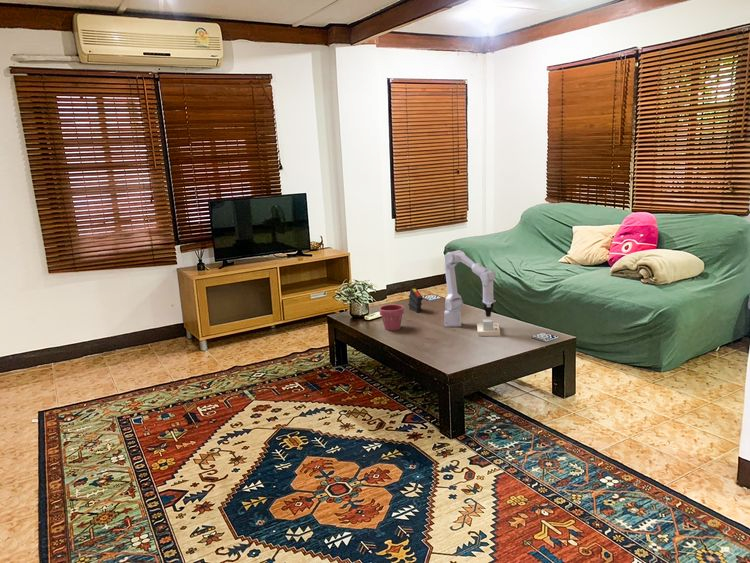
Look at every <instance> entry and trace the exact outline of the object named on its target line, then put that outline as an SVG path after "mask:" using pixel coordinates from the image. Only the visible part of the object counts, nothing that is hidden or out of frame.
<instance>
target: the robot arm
mask: <svg viewBox="0 0 750 563" xmlns="http://www.w3.org/2000/svg"><path fill="white" fill-rule="evenodd" d="M459 263H462V264H463V265H465V266H467V267H468V268H470V269H471V272H472V273H474V274H475V275H477V277H479V278H480V280H481V284H482V306H483V309H484V311H485V312H484V313H485V316H486V318H491V315H492V310H493V308H494V306H495V304H494V303H496V302H497V301H496V299H494V280H495V279H496V273H495V271H493V269H488V268H487V267H485V266H484V265H482V263H479V262H474V261H473V260H472V259H471V258H469V257H468V256H467V255H466V253H465V252H464V251H462V250H461V249H458V250H454V251H448V252H447V253H445V254H444V272H445V281H446V288H447V296H446V297H445V298H444V299H445V300H444V301H445V302H444V307H445V310H444V320H443V321H444V327H447V328H448V327H462V321H461V310H462V307H463V306H464V301H463V299H462V296H461V295H460V294H459V293H458V286H457V278H456V277H457V276H456V271H455V266H457V264H459Z"/></svg>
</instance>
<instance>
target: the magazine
mask: <svg viewBox="0 0 750 563" xmlns="http://www.w3.org/2000/svg"><path fill="white" fill-rule="evenodd" d="M408 298H409V300H408V306H409V310H411V311H413V312H415V313H422V311H423V309H422V305H423V303H422V301H423V300H424V298H423V295H422V294H421V293H420V291H419V290H418V289H417V287H415V286H414V287H410V288H409V295H408Z"/></svg>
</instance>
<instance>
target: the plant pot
mask: <svg viewBox="0 0 750 563" xmlns="http://www.w3.org/2000/svg"><path fill="white" fill-rule="evenodd" d="M404 311H405V309H404V306H403V305H402V304H385V305H382V306H380V307H379V315H380V316H381V318H382V319H381V320H382V323H383V327H384V329H385V330H387V331H397V330H400V329H401V326H402V325H401V324H402V319H403V315H404V313H405V312H404Z"/></svg>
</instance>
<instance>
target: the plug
mask: <svg viewBox="0 0 750 563" xmlns="http://www.w3.org/2000/svg"><path fill="white" fill-rule="evenodd" d="M482 323H483V331H491V330H493V323H494V319H487V318H486V319H485V318H484V319H482Z"/></svg>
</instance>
